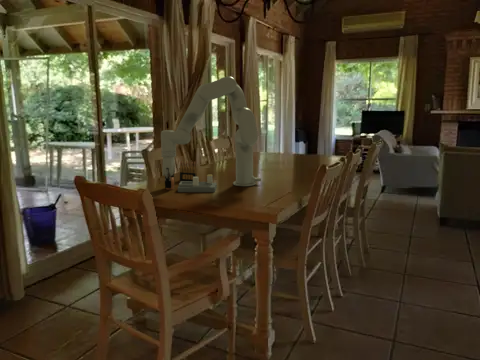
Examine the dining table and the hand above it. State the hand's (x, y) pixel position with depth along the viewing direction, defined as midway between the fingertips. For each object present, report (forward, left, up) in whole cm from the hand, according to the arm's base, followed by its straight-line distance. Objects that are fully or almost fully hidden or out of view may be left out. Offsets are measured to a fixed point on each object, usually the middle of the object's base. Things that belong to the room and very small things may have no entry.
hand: (169, 186), depth 215 cm
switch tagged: (-21, -1, +1) cm, 21 cm away
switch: (-15, +6, +1) cm, 16 cm away
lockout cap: (0, 0, -2) cm, 2 cm away
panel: (-15, +2, -1) cm, 15 cm away
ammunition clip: (-7, -22, -2) cm, 23 cm away
